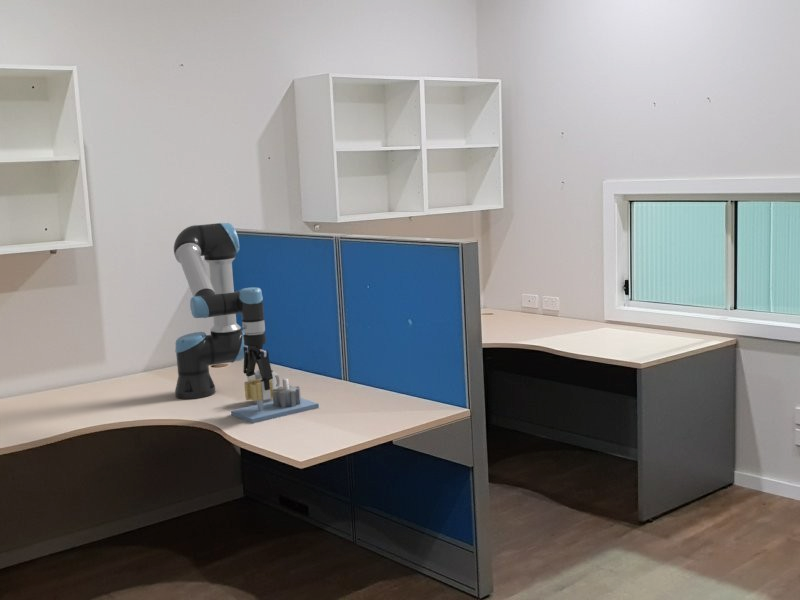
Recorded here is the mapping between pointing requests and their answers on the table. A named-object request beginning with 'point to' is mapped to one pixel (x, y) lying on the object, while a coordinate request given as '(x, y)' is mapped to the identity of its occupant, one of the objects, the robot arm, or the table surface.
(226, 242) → the robot arm
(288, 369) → the table surface
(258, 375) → the mug
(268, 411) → the gear board
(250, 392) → the brass gear
